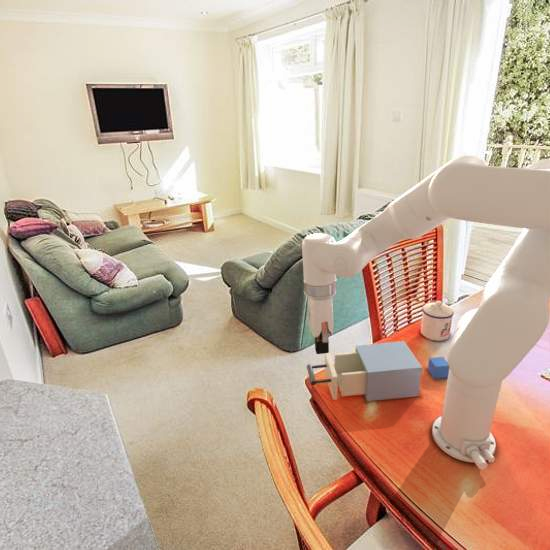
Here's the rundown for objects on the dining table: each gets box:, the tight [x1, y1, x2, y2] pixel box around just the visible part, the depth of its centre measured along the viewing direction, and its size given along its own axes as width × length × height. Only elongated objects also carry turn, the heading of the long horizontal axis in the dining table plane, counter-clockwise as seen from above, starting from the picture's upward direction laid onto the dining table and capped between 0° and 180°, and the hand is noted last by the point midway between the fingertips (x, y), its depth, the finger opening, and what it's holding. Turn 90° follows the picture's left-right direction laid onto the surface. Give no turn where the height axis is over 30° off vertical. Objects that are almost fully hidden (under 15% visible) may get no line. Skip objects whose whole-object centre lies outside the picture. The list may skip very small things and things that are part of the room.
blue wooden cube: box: [427, 356, 449, 380], centre depth 102 cm, size 4×4×4 cm
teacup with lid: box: [420, 300, 455, 342], centre depth 119 cm, size 12×9×12 cm
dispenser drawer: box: [306, 351, 367, 401], centre depth 98 cm, size 18×10×7 cm, turn 94°
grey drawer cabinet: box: [354, 340, 423, 402], centre depth 99 cm, size 14×12×9 cm
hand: (322, 351), depth 95 cm, fingers closed
